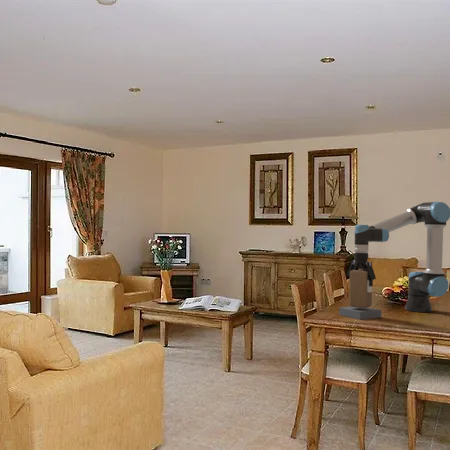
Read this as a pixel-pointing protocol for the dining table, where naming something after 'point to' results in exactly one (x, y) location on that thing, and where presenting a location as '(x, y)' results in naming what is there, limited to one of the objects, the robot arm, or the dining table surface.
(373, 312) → the charcoal plinth
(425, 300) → the robot arm
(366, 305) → the wooden block
